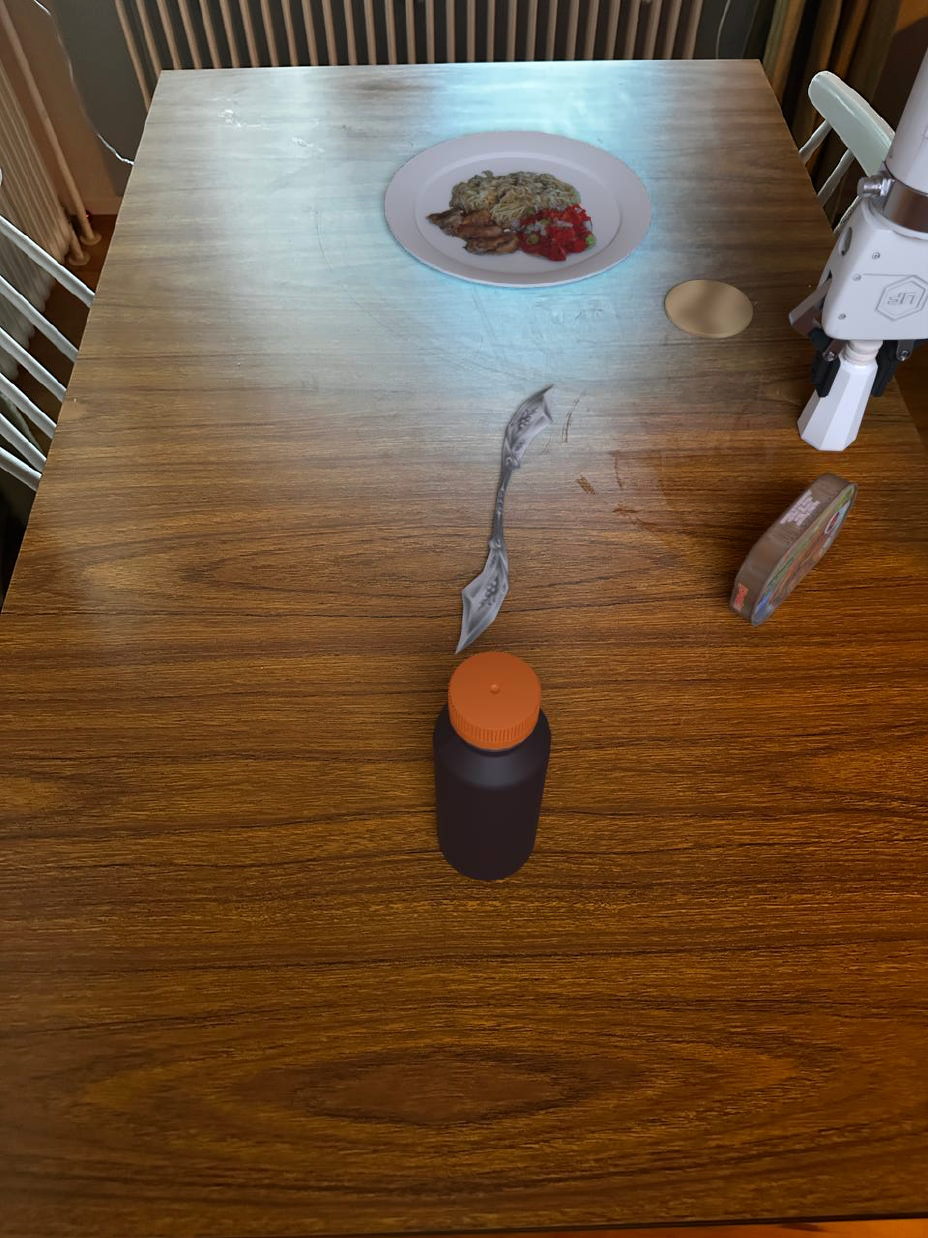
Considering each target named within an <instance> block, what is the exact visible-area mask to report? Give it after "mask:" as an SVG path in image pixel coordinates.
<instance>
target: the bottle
mask: <svg viewBox="0 0 928 1238" xmlns="http://www.w3.org/2000/svg"><path fill="white" fill-rule="evenodd" d="M541 701H542V684H541V681H540V678H538V674H537V672H536V671H535V670H534V668H532V666H531V665H530V664H529V663H527V661H526V660H525V661H524V659H523V658H522V659H521V657H520V656H517V655H515V654H513V653H512V654H511V653H509V652H506V651H504V652H503V651H502V650H500V651H498V650H495V651H494V650H492V651H490V650H488V651H484V652H479V653H478V652H477V654H473V656H472V655H470V656H469V657H466V659H463V662H460V664H458V665H457V667H455V670H453V673H451V676H450V679H449V683H448V687H447V702H445V704H444V705H443V706H442V708H441V710H440V712H439V713H438V715H437V717H436V719H434V726H433V732H432V738H431V739H432V740H431V741H432V757H433V758H432V761H433V775H434V776H433V778H434V795H435V798H434V799H435V814H436V815H435V816H436V833H437V841H438V844H439V850H440V851H441V854H442V855H443V857H444V859H445V861H446V862H447V864H449V865H450V866H451V867H452V868H453V869H454V870H455V871H456V872H457V873H459V874H461V876H462V875H463V876H465V877H467V878H469V879H471V880H475V881H481V882H494V881H500V880H504V879H507V877H509V876H511V875H513V874H515V873H517V872H519V870H520V869H521V868H523V866H524V865H525V864H526V863H527V862H528V861H529V859H530V858H531V855H532V852H533V850H534V849H535V845H536V838H537V833H538V826H539V819H540V815H541V809H542V803H543V796H544V791H545V785H546V779H547V773H548V768H549V760H550V755H551V748H552V737H553V736H552V731H551V727H550V724H549V723H550V722H549V720H548V716H546V714H545V712H544V711H543V709H542V708H541Z"/></svg>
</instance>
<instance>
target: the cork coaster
mask: <svg viewBox="0 0 928 1238" xmlns="http://www.w3.org/2000/svg"><path fill="white" fill-rule="evenodd" d="M664 311H665V315H666V316H667V318H668V320H669V321H670V322H671V323H672V324H673V325H674V326H675V327H676V328H677V329H679V330H681V331H683V332H685V333H687V334H689V335H692V336H695V337H699V338H704V339H724V338H729V337H733V336H736V335H738V334H740V333H742V332H743V331H745V330H746V329H747V327H748V326H749V325H750V323H751V322H752V318H753V315H754V309H753V305H752V303H751V300H750V299H749V298H748V296H747V295H746V294H745V293H743V292H742V291H741V290H739V289H738V288H736V287H734V286H733V285H730V284H728V283H726V282H721V281H718V280H713V279H712V280H711V279H694V280H689V281H685V282H682V283H679V284H678V285H676V286H674V287H673V288H672V289H671V290H670V291H669V292H668V293H667V295H666V298H665V301H664Z"/></svg>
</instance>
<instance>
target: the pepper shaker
mask: <svg viewBox="0 0 928 1238" xmlns="http://www.w3.org/2000/svg"><path fill="white" fill-rule="evenodd" d="M882 344H883V340H848V342H847V343H846V345H845V346H844V348H843V349H842V351H841V352H840V354H839V355H838V356H839V358H840V361H841V366H840V368H839V371H838V373H837V375H836V378H835V380H834V383H833V385H832V387H831V390H830V392H829V395H828V396H826V397H825V398H819V397H818V395H817V392H816V389H814V391H813V392H812V394H811V396H810V398H809V400H808V402H807V404H806V406H804V409H803V411H802V413H801V414H800V417H799V418H798V420H797V428H798V432H799V436H800V439H801V440H802V441H803V442H805V443H807V444H808V445H810V446H812V447H813V448H814V449H816V450H818V451H825V452H826V451H827V452H828V451H829V452H843V451H844V450H845V449H846V448H847V447H848V446H850V445H851V444H852V443H853V442H854V441H855V440H856V439H857V435H858V433H859V430H860V426H861V423H862V420H863V417H864V413H865V411H866V407H867V404H868V401H869V397H870V395H871V388H872V385H873V382H874V379H875V376H876V372H877V368H878V366H877V363H876V360H875V357H876V355H877V353H878V350H879V348H880V347H881V345H882Z"/></svg>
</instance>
